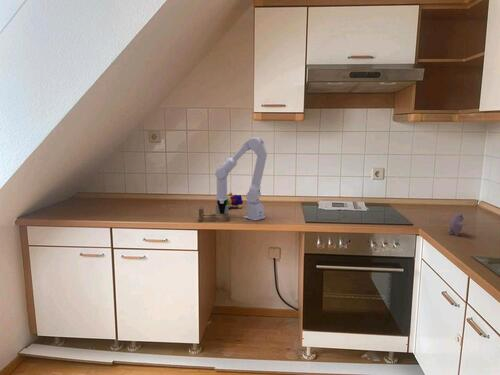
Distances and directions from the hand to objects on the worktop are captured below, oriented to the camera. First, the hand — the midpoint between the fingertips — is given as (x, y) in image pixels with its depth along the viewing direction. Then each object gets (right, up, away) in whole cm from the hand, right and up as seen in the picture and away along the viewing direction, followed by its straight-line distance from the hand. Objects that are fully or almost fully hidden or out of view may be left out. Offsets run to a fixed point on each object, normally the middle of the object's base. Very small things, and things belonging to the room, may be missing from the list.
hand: (222, 213), depth 208 cm
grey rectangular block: (0, -1, 0) cm, 1 cm away
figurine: (+111, -8, -34) cm, 117 cm away
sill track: (-3, -3, -8) cm, 9 cm away
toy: (+4, +2, +20) cm, 20 cm away
